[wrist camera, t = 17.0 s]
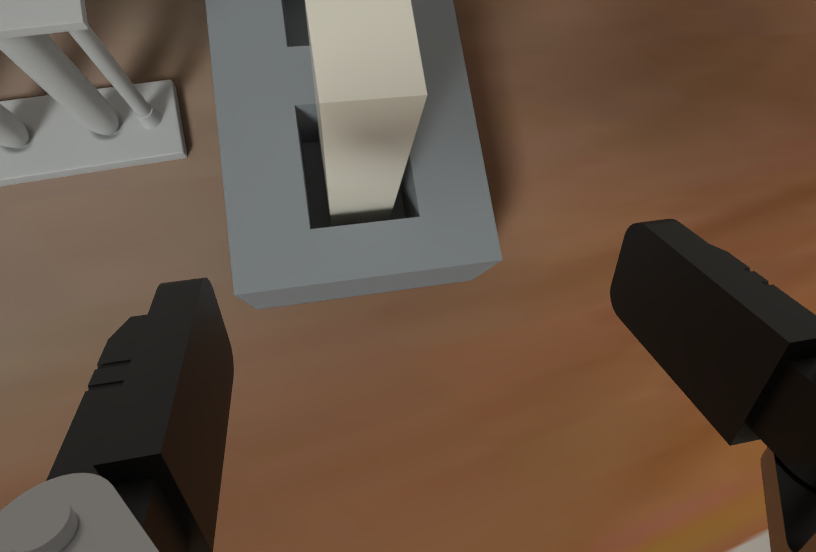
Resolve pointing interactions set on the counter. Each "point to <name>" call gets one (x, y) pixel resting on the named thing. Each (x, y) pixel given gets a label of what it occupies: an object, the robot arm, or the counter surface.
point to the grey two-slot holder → (304, 176)
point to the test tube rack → (77, 102)
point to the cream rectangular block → (365, 101)
